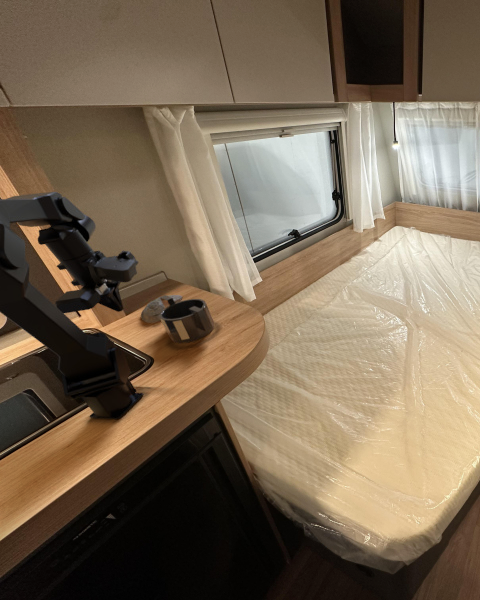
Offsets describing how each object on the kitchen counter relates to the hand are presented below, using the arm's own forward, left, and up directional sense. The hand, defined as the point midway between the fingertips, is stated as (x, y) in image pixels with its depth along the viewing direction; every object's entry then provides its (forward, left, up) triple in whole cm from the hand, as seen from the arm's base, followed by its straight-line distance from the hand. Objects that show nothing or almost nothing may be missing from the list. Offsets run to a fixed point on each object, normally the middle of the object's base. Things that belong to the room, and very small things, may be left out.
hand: (120, 310), depth 76 cm
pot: (+7, -10, -11) cm, 16 cm away
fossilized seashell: (+17, +6, -12) cm, 22 cm away
